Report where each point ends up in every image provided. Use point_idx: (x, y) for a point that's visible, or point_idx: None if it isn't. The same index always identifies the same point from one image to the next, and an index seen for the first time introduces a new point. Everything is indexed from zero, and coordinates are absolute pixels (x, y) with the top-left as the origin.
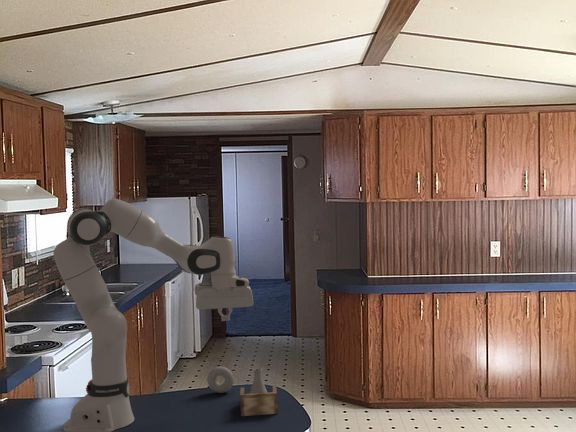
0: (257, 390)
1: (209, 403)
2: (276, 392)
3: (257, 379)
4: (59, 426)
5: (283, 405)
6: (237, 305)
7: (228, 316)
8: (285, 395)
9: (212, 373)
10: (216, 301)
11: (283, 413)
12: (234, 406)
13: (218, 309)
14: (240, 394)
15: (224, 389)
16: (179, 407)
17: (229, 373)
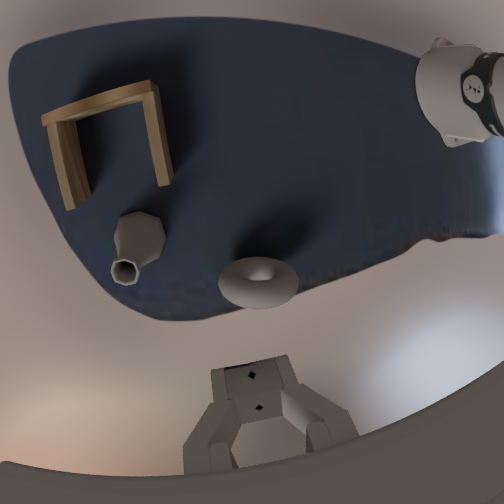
0: (133, 226)
1: (268, 183)
2: (43, 120)
3: (128, 247)
4: None
5: None
6: (107, 493)
7: (223, 395)
8: (76, 247)
9: (285, 279)
10: (412, 500)
11: None
12: (191, 159)
13: (349, 432)
14: (149, 88)
15: (241, 259)
16: (341, 158)
17: (230, 286)
